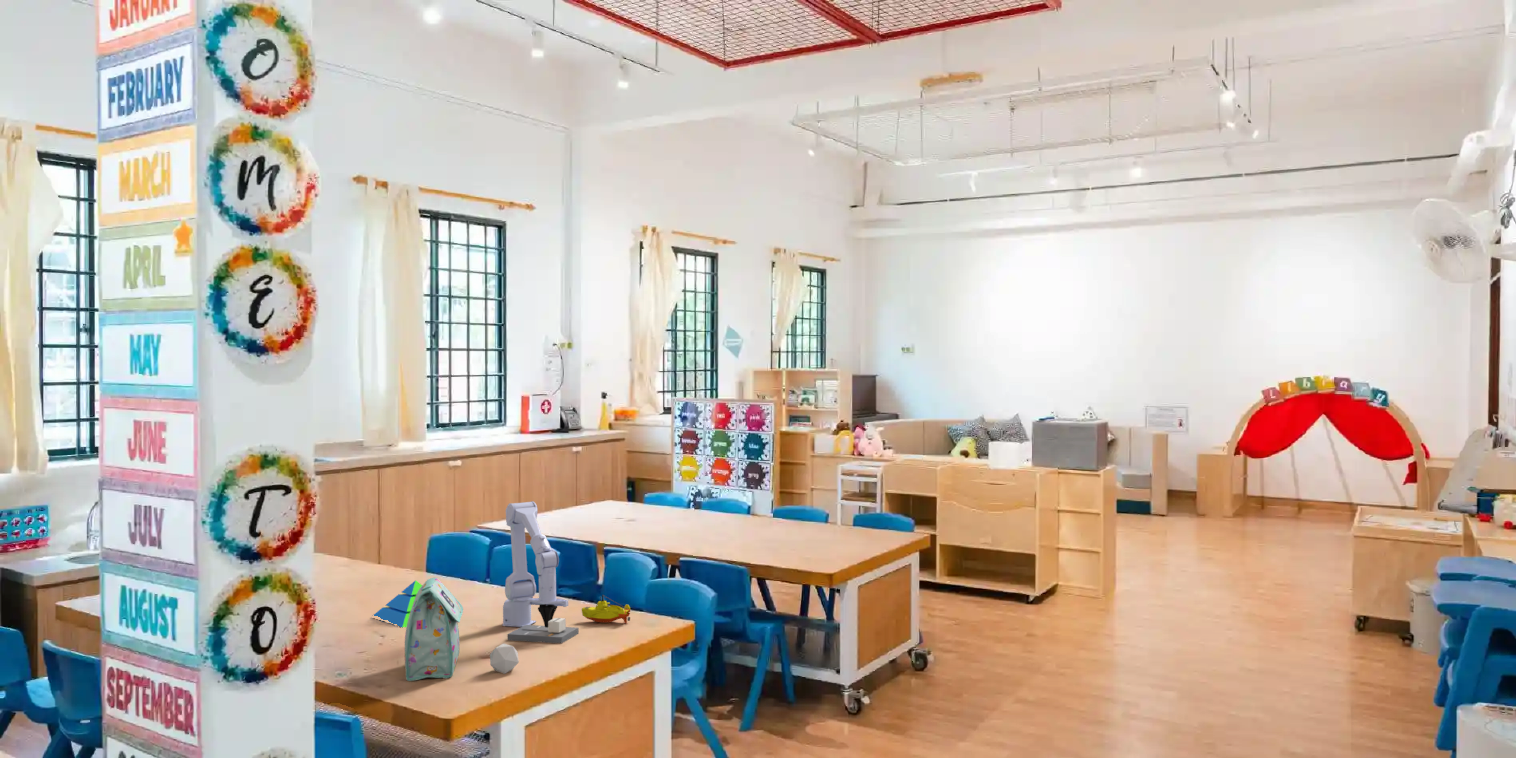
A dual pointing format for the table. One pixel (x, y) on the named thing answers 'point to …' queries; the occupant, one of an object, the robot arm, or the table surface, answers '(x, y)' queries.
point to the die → (504, 658)
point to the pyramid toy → (400, 606)
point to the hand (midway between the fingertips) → (547, 626)
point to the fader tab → (557, 625)
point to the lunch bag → (432, 633)
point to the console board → (542, 634)
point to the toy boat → (606, 612)
